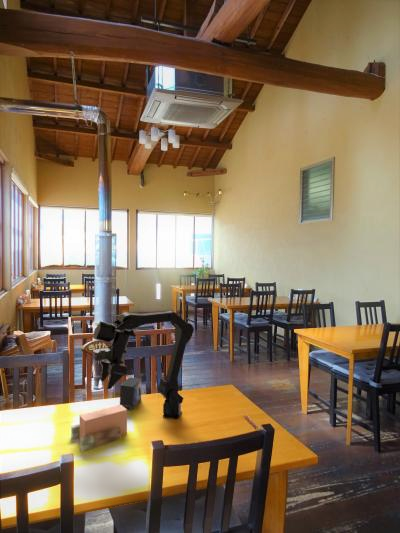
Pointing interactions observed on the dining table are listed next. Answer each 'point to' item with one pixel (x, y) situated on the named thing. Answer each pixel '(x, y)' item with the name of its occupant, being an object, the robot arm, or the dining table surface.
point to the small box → (130, 393)
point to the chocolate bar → (251, 422)
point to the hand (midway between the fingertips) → (105, 384)
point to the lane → (95, 437)
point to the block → (103, 420)
